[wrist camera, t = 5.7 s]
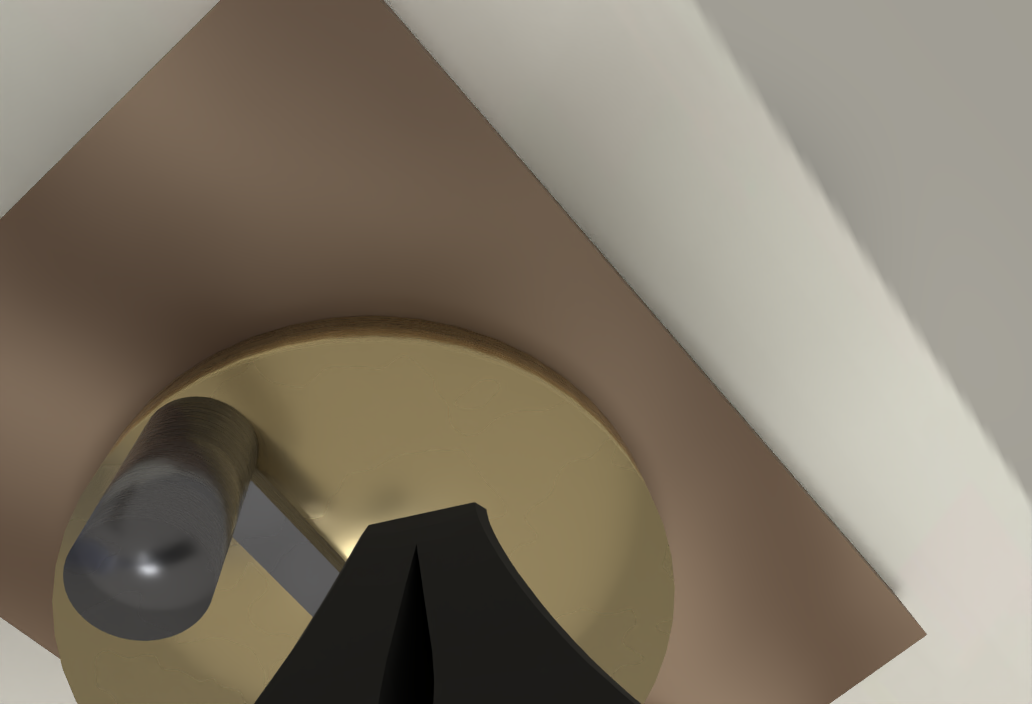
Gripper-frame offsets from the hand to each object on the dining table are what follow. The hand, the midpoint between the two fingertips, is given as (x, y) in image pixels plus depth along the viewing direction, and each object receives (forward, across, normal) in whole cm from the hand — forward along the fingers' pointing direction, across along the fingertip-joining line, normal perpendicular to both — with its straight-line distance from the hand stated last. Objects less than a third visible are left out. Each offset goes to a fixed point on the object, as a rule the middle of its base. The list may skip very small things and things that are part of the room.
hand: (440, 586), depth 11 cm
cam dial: (+8, +2, +5) cm, 10 cm away
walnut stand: (+9, +1, +5) cm, 11 cm away
